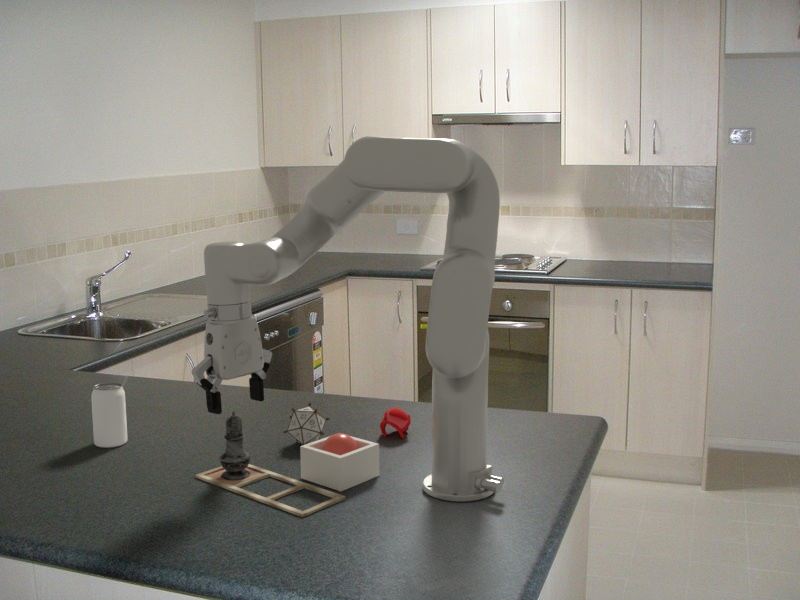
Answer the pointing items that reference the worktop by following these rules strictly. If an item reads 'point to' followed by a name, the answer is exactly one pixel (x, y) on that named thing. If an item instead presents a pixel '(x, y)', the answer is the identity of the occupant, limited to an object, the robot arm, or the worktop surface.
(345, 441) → the pop dome
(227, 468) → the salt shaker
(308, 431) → the game die
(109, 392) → the can
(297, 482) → the game track
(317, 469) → the dome housing
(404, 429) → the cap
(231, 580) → the worktop surface
